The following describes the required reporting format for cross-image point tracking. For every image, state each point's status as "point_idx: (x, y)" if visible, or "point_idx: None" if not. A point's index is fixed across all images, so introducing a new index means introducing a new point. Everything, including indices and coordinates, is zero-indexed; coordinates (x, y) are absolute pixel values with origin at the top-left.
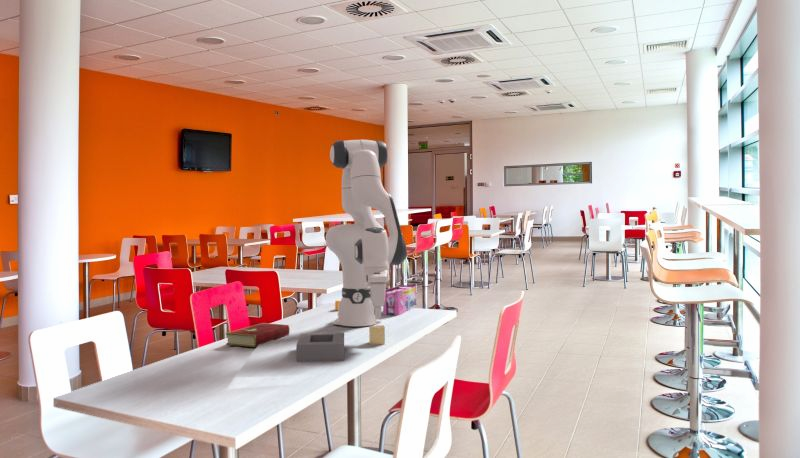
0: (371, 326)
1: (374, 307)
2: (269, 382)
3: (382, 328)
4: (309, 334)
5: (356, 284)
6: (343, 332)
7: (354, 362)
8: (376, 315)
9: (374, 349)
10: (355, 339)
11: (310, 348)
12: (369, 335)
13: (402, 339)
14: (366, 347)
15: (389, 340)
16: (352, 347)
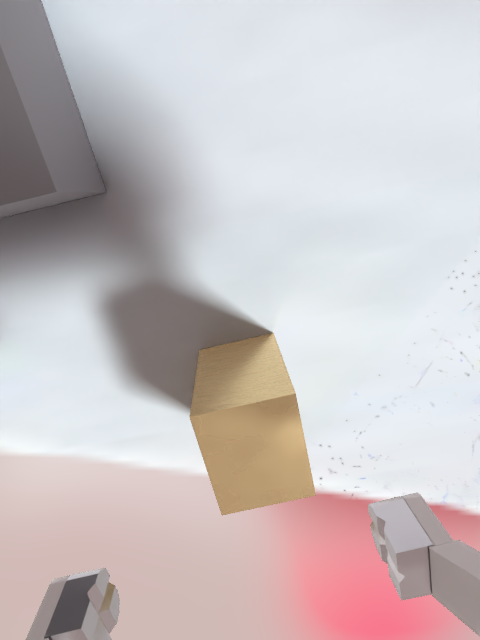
0: (257, 418)
1: (464, 579)
2: None
3: (217, 496)
4: None
5: None
6: (42, 187)
7: None
8: (40, 623)
9: (98, 394)
10: (392, 213)
11: None
12: (252, 363)
13: (380, 483)
14: (142, 340)
15: (354, 427)
16: (123, 251)
